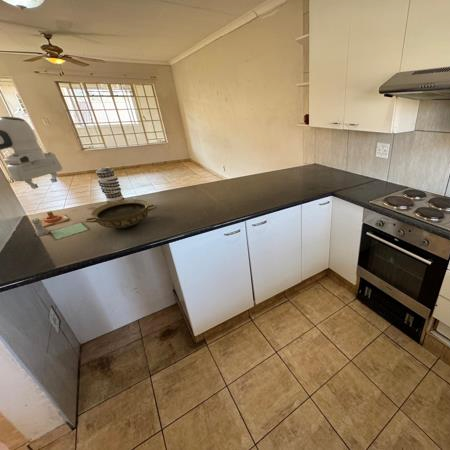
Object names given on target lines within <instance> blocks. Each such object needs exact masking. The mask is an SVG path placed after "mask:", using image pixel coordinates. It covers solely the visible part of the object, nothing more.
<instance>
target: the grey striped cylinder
mask: <svg viewBox="0 0 450 450" xmlns="http://www.w3.org/2000/svg"><path fill="white" fill-rule="evenodd" d="M114 171H115V170H114V168H112V167H110V166H102V167H98V168H97V169H96V171H95V173H96V176H97V179H98V181H97V183H98V186H99V187H100V189H101V192H102V193H103V194H104V196H105V199H106V204H108V203H111V202H115V201H120V200H125V197H124V196H123V194H122V188H121V184H119V183H120V181H118V180H119V178H118V177H117V175H116V174H115V172H114Z"/></svg>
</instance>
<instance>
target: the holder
mask: <svg viewBox="0 0 450 450" xmlns="http://www.w3.org/2000/svg"><path fill="white" fill-rule="evenodd" d="M46 214H47V217H49V218H50V219H53V218H55V217H54V215H55V214H54V213H53V211H50V210H49V211H46ZM60 215H61V217H62V218H61V219H60V220H58V221H55V222H50V223H49V222H48V223H45V222H44V220H43V219H40V220H41V221H40V222H41V224H42V226H43V227H44V228H47V227H50V226H53V225H57V224H58V225H59V224H61V223H65V222H68V221H69V218H68V217H67V216H65V215H64V214H60Z"/></svg>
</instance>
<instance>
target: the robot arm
mask: <svg viewBox="0 0 450 450" xmlns="http://www.w3.org/2000/svg"><path fill="white" fill-rule="evenodd" d="M6 149H12V150H13V153H12V154H10V155H9V156H7V157H5V158H3V161H4V163H5V164H7V167H6V168H7V171H8V173H9V175H10V177H11V179H12V180H13V181H14V182H25V183H26V184H27V185H29V186H30V187H31V188H32V189H33V190H35V189H38V188H39V185H38V183H34V182H33V179H36V178H40V177H44V176H48V175H50V176H51V178H50V179H49V180H50V182H51V183H57V182H58V179H57V177H58V172H62V171H63V166H62V164H61V162H60V161H59V159H58V158H57V156H56V154H55V153H53V152H51V151H48V152H44V150H43V148H42V146H41V145H40V144H39V142H38V137H37V135H36V134H35V132H34V130H33V128H32V126H31V125H30V123H29V122H28V121H27V120H26V119H24V118H21V117H17V116H16V117H15V116H0V151H3V150H6Z"/></svg>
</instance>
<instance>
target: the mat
mask: <svg viewBox="0 0 450 450" xmlns="http://www.w3.org/2000/svg"><path fill="white" fill-rule="evenodd" d="M88 230H89V229H88V228H87V227H86V226H85V225H83V223H81V222H79V223H74V224H71V225H68V226H65V227H62V228H58V229H55V230H52V231H50V234H51V235H52V236H53V237H54V238H55V239H56V240H60V239H63V238H66V237H70V236H72V235H77V234H80V233H83V232H86V231H88Z"/></svg>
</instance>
